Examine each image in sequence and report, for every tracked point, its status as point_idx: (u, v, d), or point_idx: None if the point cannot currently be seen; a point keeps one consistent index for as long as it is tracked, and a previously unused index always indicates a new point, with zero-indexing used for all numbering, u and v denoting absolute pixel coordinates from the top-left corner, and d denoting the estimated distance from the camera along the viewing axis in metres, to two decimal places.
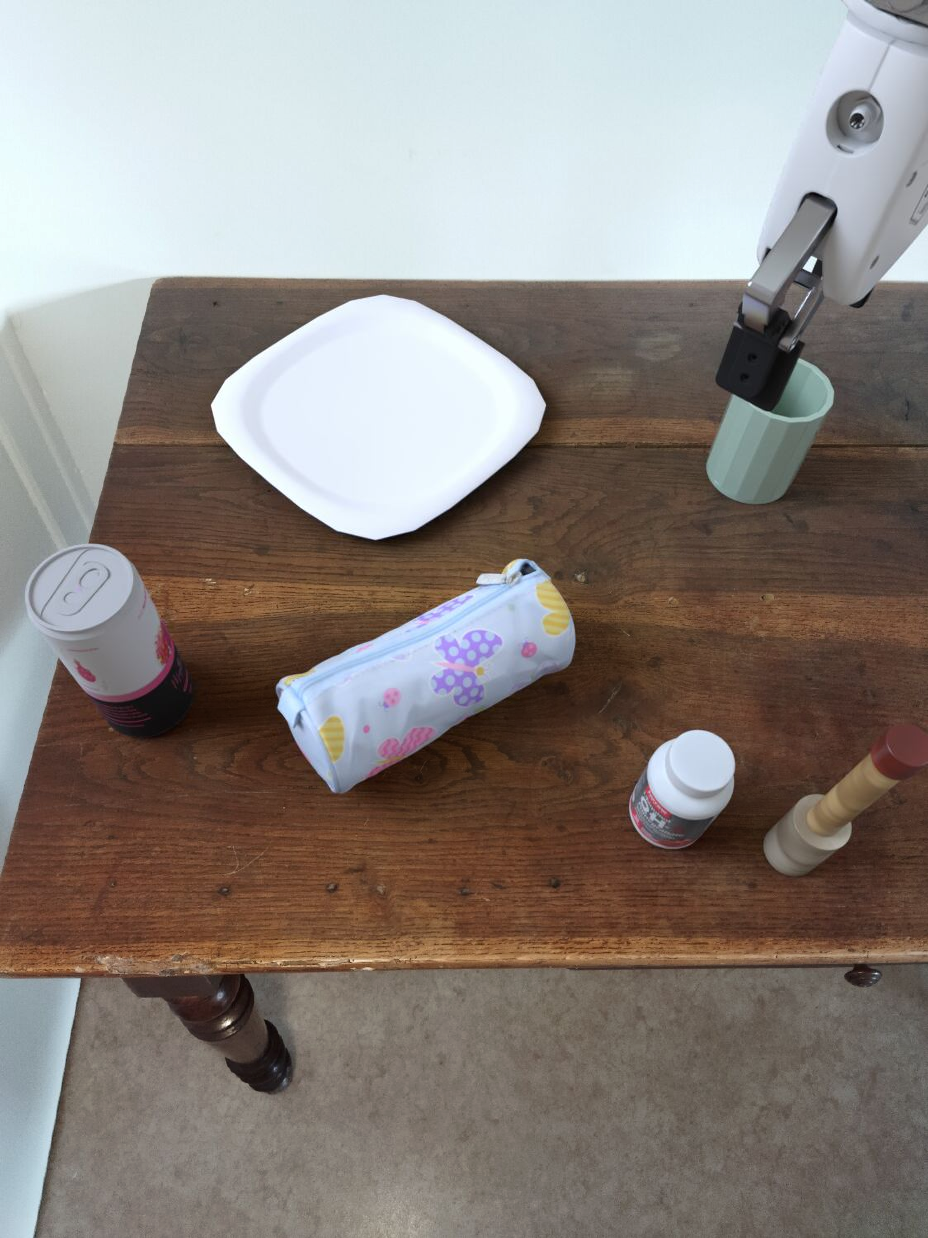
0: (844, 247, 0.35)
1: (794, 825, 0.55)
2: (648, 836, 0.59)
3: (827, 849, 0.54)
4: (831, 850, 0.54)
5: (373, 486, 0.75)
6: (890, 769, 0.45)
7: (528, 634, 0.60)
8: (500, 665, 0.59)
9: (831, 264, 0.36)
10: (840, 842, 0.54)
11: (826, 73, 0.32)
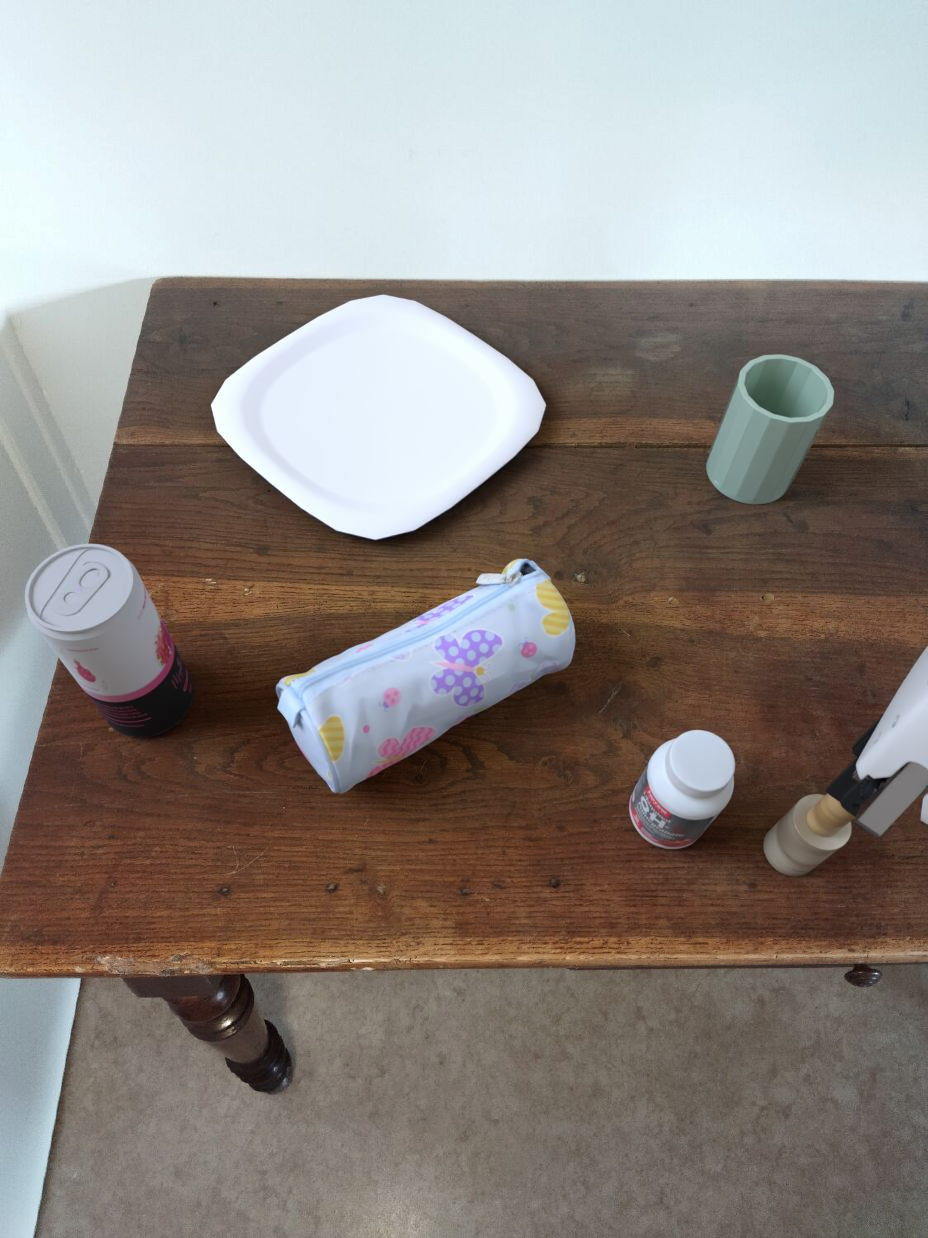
0: None
1: (794, 825, 0.55)
2: (648, 836, 0.59)
3: (827, 849, 0.54)
4: (831, 850, 0.54)
5: (373, 486, 0.75)
6: None
7: (528, 634, 0.60)
8: (499, 665, 0.59)
9: None
10: (840, 842, 0.54)
11: None
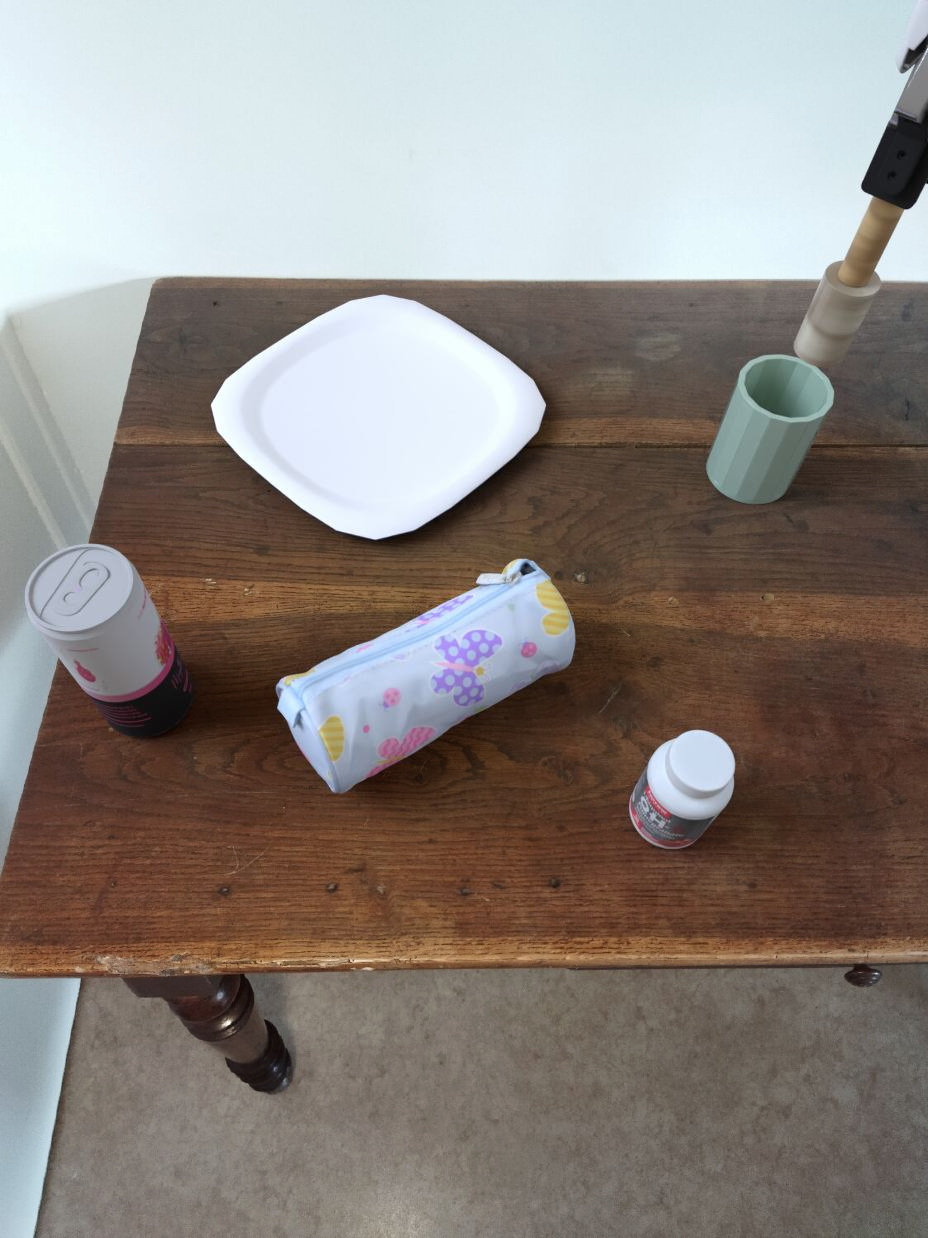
0: None
1: (826, 280, 0.57)
2: (648, 836, 0.59)
3: (858, 295, 0.56)
4: (862, 297, 0.57)
5: (373, 486, 0.75)
6: None
7: (528, 634, 0.60)
8: (499, 665, 0.59)
9: None
10: (870, 291, 0.57)
11: None
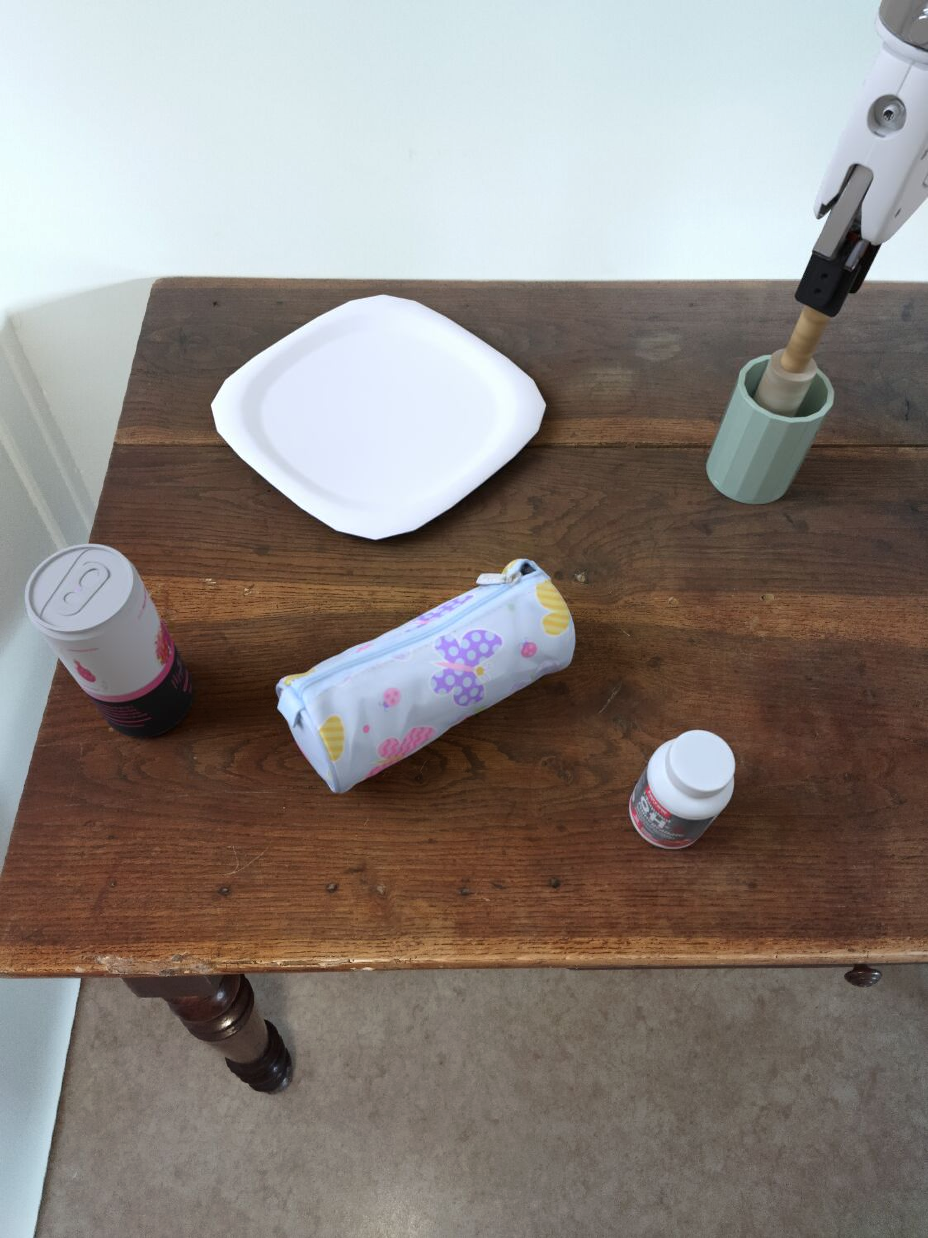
0: None
1: (770, 366, 0.67)
2: (648, 836, 0.59)
3: (796, 380, 0.67)
4: (800, 382, 0.67)
5: (373, 486, 0.75)
6: None
7: (528, 634, 0.60)
8: (499, 665, 0.59)
9: None
10: (807, 376, 0.67)
11: (868, 83, 0.48)
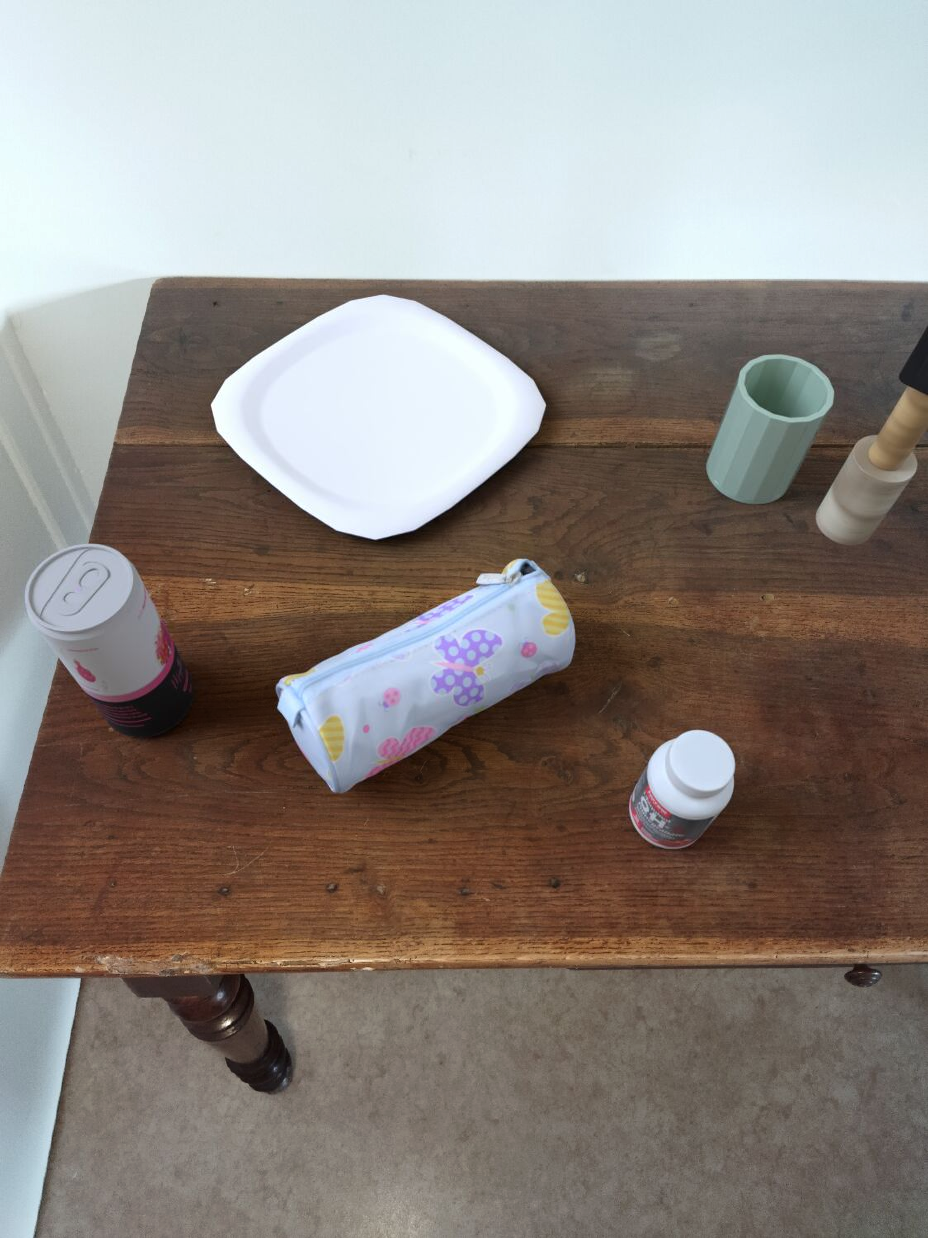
0: None
1: (855, 461, 0.50)
2: (648, 836, 0.59)
3: (891, 481, 0.50)
4: (896, 483, 0.50)
5: (373, 486, 0.75)
6: None
7: (528, 634, 0.60)
8: (499, 665, 0.59)
9: None
10: (905, 475, 0.50)
11: None
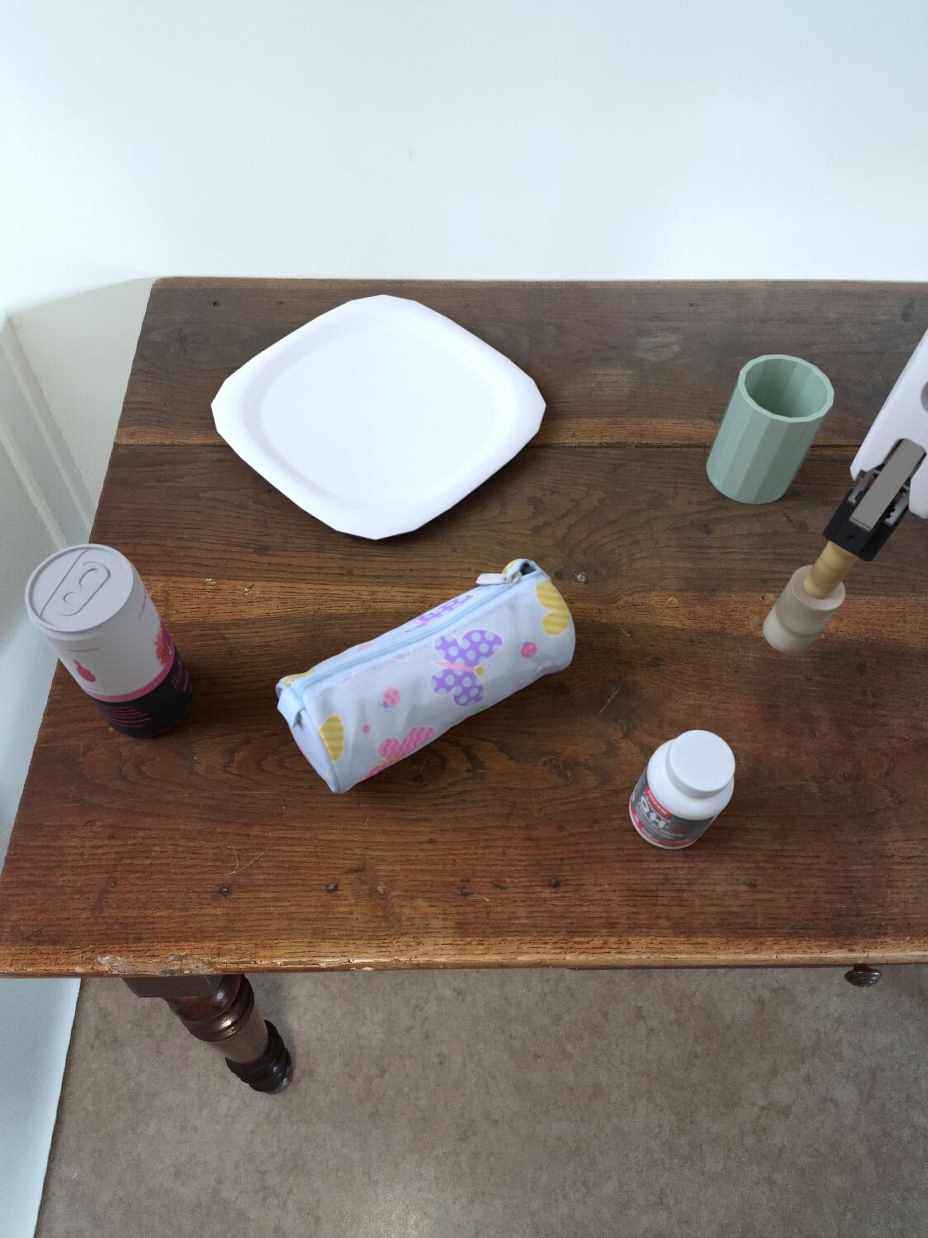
0: None
1: (792, 590, 0.59)
2: (648, 836, 0.59)
3: (822, 609, 0.58)
4: (826, 610, 0.58)
5: (373, 486, 0.75)
6: None
7: (528, 634, 0.60)
8: (499, 665, 0.59)
9: None
10: (835, 603, 0.58)
11: (923, 358, 0.39)
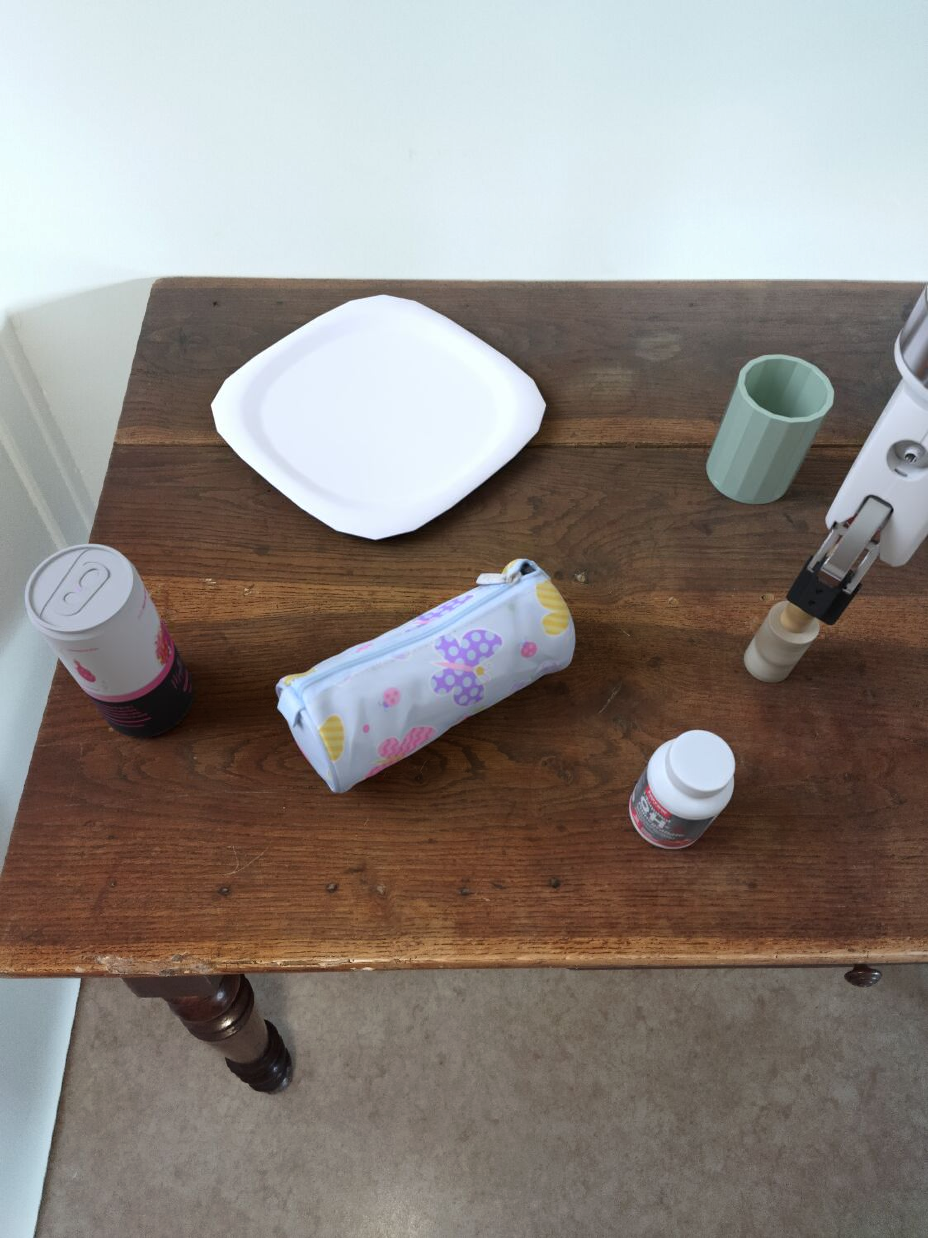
0: (898, 534, 0.45)
1: (769, 625, 0.63)
2: (648, 836, 0.59)
3: (797, 643, 0.62)
4: (801, 644, 0.62)
5: (373, 486, 0.75)
6: None
7: (528, 634, 0.60)
8: (499, 665, 0.59)
9: (887, 542, 0.46)
10: (809, 637, 0.62)
11: (887, 423, 0.42)
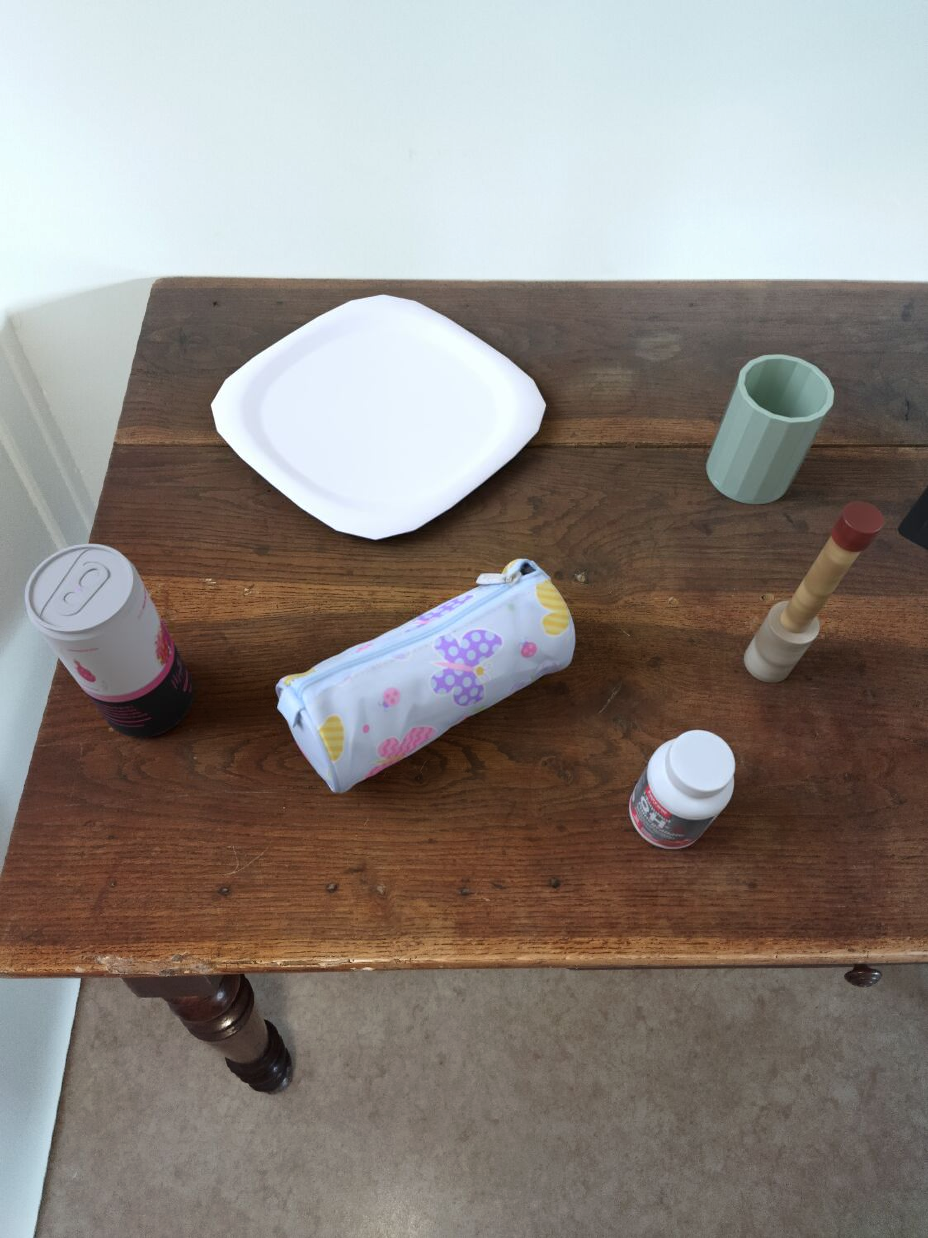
0: None
1: (769, 625, 0.63)
2: (648, 836, 0.59)
3: (797, 643, 0.62)
4: (801, 644, 0.62)
5: (373, 486, 0.75)
6: (847, 540, 0.53)
7: (528, 634, 0.60)
8: (499, 665, 0.59)
9: None
10: (809, 637, 0.62)
11: None
